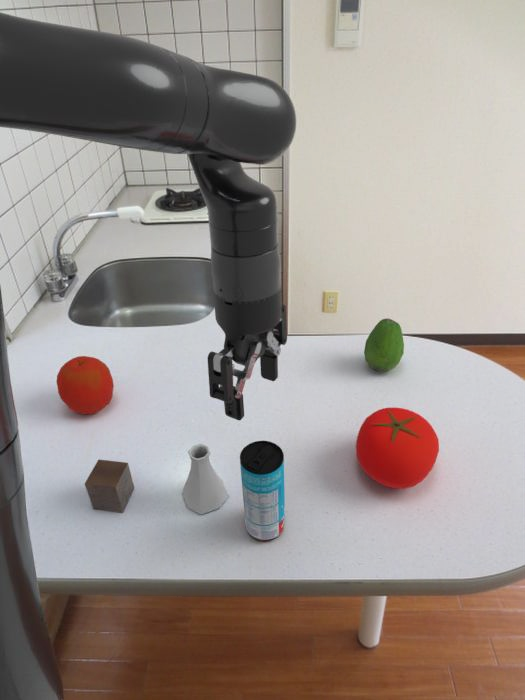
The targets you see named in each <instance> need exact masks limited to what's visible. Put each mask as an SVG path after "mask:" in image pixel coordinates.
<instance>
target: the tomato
mask: <svg viewBox="0 0 525 700" xmlns="http://www.w3.org/2000/svg"><path fill="white" fill-rule="evenodd" d="M355 441H356V442H355V455H356V459H357V461H358V463H359V465H360V467H361V469H362V470H363V471H364V473H365V474H366V475H367V476H368V477H369V478H371V479H372V480H374V481H375V482H377V483H379V484H381V485H382V486H385V487H388V488H391V489H408V488H412V487H413V488H414V487H415V486H417V485H418V484H420V483H421V482H423V481H424V480H425V479H426V478H427V477H428V475H429V474H430V472H431V470H433V468H434V466H435V464H436V461H437V459H438V455H439V452H440V443H439V441H440V440H439V436H438V435H437V433H436V431H435V429H434V428H433V426H432V424H431V423H430V422H429V420H427V419H426V418H425V417H424V416H421V415H420V414H419V413H417V412H416V411H413V410H409V409H407V408H402V407H383V408H381V409H377V410H376V411H374V412H372V413H371V414H370V415H368V416H367V417H366V418H365V419H364V421H363V422H362V424H361V425H360V428H359V430H358V433H357V436H356V440H355Z"/></svg>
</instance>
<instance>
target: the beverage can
mask: <svg viewBox="0 0 525 700" xmlns="http://www.w3.org/2000/svg"><path fill="white" fill-rule="evenodd" d="M284 457H285V455H284V451H283V449H282V448H281V447H280V446H279V445H278V444H277V443H275V442H272V441H269V440H256V441H253V442H250V443H248V444H247V445H245V446H244V447H243V449H242V450H241V451H240V453H239V463H240V465H239V466H240V478H241V479H240V480H241V488H242V489H241V490H242V500H243V510H244V511H243V513H244V521H245V524H244V525H245V529H246V531H247V533H248V534H249V535H250V536H251V537H252V538H253V539H254V540H257V541H259V542H271V541H273V540H275V539H277V538H278V537H279V536H281V534H282V533H283V531H284V529H285V527H286V509H285V507H286V506H285V503H286V501H285V499H286V497H285V496H286V495H285V492H286V491H285V460H284V459H285V458H284Z"/></svg>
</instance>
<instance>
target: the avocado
mask: <svg viewBox="0 0 525 700" xmlns="http://www.w3.org/2000/svg"><path fill="white" fill-rule="evenodd" d="M404 350H405V343H404V337H403V330H402V327H401V325H400V324H399V322H397V321H395V320H393V319H391V318H389V317H388V318H382V319H381V320H379V321H378V322H377V324H376V325H375V326H374V327H373V329H372V330H371V331H370V333H369V335H368V337H367V338H366V340H365V345H364V351H363V355H364V359H365V362H366V364H367V365H368V366H369V367H370V368H372V369H374V370H375V371H378V372H390V371H391V370H394V369H395V368H396V367H397V366H398V365H399V364H400V362H401V360H402V358H403V355H404Z"/></svg>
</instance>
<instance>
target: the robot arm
mask: <svg viewBox="0 0 525 700" xmlns="http://www.w3.org/2000/svg"><path fill="white" fill-rule="evenodd" d="M292 100H293V99H291V97H290V95H289V94H288V92H287V91H286V89H284V88H283V86H282V85H281V84H279V83H278V82H276V81H274V80H272V79H270V78H268V77H264V76H261V75H256V74H252V73H246V72H242V71H236V70H231V69H225V68H219V67H215V66H211V65H207V64H204V63H201V62H198V61H196V60H194V59H192V58H190V57H188V56H186V55H183V54H180V53H178V52H175V51H173V50H169V49H166V48H164V47H161V46H159V45H156V44H153V43H150V42H147V41H144V40H141V39H138V38H134V37H130V36H127V35H122V34H118V33H112V32H107V31H100V30H94V29H87V28H82V27H75V26H69V25H64V24H57V23H52V22H46V21H40V20H35V19H31V18H25V17H21V16H17V15H13V14H9V13H4V12H1V11H0V128H3V129H4V128H5V129H13V130H15V129H16V130H22V131H29V132H35V133H44V134H49V135H54V136H60V137H65V138H72V139H77V140H81V141H82V140H83V141H89V142H94V143H99V144H104V145H111V146H116V147H121V148H127V149H133V150H140V151H147V152H155V153H163V154H172V155H187V157H188V160H189V163H190V165H191V169H192V171H193V174H194V177H195V179H196V183H197V184H198V188H199V191H200V193H201V195H202V198H203V200H204V203H205V205H206V209H207V217H208V219H207V220H208V230H209V239H210V240H209V241H210V251H211V252H210V275H211V285H212V295H213V306H214V316H215V321H216V324H217V325H218V326H219V328H220V329H221V330H222V332H223V333H224V336H225V337H224V343H223V349H221V350H220V351H219V352H215V351H210V352H209V353H208V355H207V372H208V374H207V375H208V387H209V396H210V398H213V399H216V400H218V401H222V402H223V405H224V414H225V416H226V417H229V418H231V419H234V420H236V421H242V419H243V418H245V405H244V394H243V391H244V388H245V385H246V382H247V380H250V379H251V377H252V373H253V371H254V366H255V364H256V362H257V361H258V360H259V361H260V364H259V365H260V377H261V378H263V379H265V380H269V381H271V382H275V381H276V380H277V379H278V378H279V365H278V364H279V363H278V360H279V359H278V358H279V356H280V354H281V351H282V348H281V345H282V346H285V345H286V344H287V341H288V328H287V326H288V325H287V306H286V305H285V304H283V303H282V270H281V269H282V265H281V262H282V261H281V256H280V250H279V229H278V227H279V225H278V200H277V195H276V194H275V192H274V190H273V189H272V188H270V187H269V186H268V185H266V184H264V183H262V182H260V181H258V180H256V179H254V178H252V177H251V176H249V174H247V173H246V172H245V170H244V168H243V165H242V164H249V165H257V166H263V165H269V164H272V163H274V162H276V161H277V160H279V159H280V158H282V156H284V155H285V154H286V153H287V151H288V150H289V148H290V147H291V145H292V143H293V141H294V139H295V135H296V130H297V114H296V110H295V108H296V107H295V106H294V103H293V101H292ZM5 322H6V321H5V313H4V304H3V295H2V287H1V285H0V700H65V694H64V685H63V679H62V675H61V671H60V667H59V662H58V660H57V656H56V653H55V649H54V645H53V642H52V638H51V634H50V631H49V627H48V625H47V619H46V617H45V612H44V607H43V604H42V599H41V594H40V588H39V583H38V576H37V570H36V564H35V563H36V562H35V558H34V550H33V545H32V540H31V533H30V527H29V519H28V518H29V517H28V511H27V498H26V484H25V471H24V465H23V455H22V447H21V440H20V439H21V438H20V431H19V423H18V416H17V410H16V404H15V400H14V394H13V387H12V382H11V373H10V363H9V362H10V361H9V354H8V353H9V352H8V343H7V332H6V324H5ZM275 330H277V331H278V333H276V332H275ZM233 362H234V363H235V364H238V365H240V366H243V367H244V368H243V369H242V370H240V369H237V368H235V364H234V363H233ZM234 377H236V379H237V380H236V384H235V386H234Z"/></svg>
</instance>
